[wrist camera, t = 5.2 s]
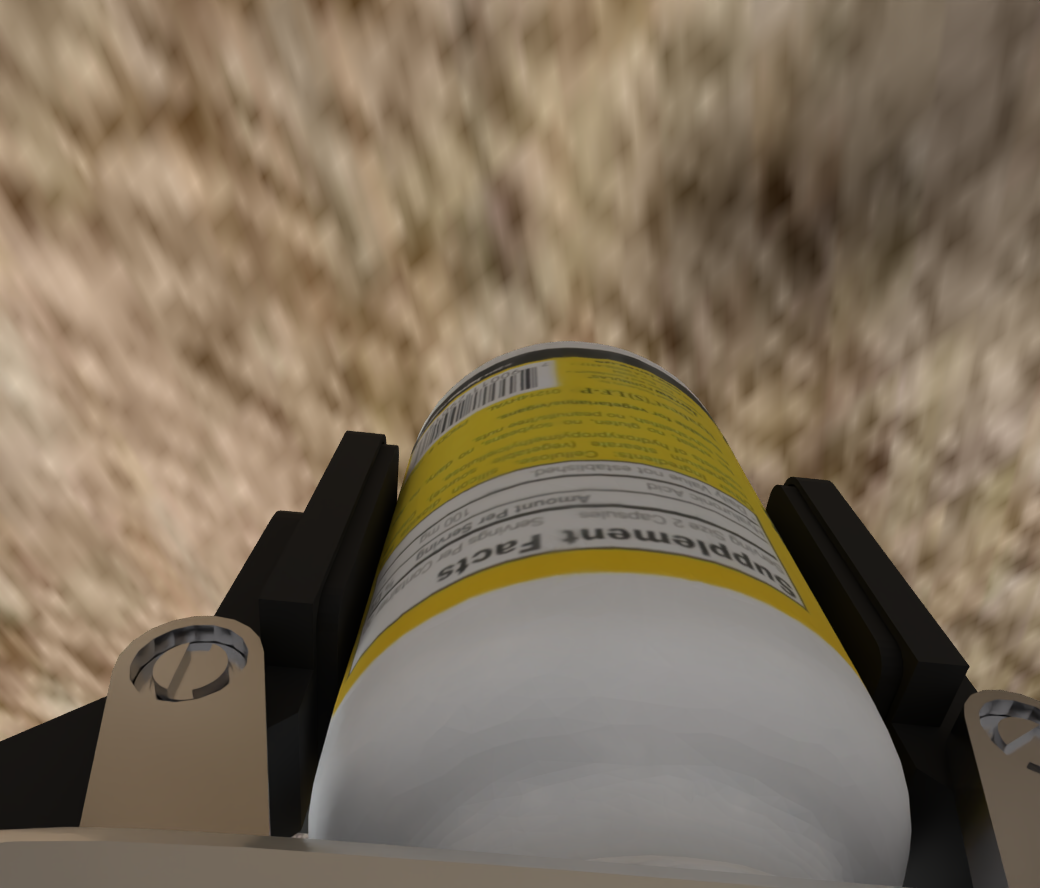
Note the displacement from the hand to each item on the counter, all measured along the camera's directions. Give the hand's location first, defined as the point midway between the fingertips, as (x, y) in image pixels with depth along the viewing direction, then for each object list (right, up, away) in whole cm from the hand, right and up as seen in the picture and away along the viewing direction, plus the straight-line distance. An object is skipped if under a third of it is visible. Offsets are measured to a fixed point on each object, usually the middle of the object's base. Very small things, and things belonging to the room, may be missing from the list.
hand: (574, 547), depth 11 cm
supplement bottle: (0, +1, +2) cm, 2 cm away
